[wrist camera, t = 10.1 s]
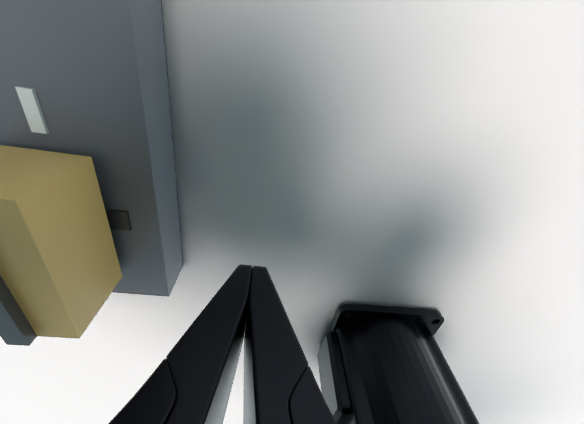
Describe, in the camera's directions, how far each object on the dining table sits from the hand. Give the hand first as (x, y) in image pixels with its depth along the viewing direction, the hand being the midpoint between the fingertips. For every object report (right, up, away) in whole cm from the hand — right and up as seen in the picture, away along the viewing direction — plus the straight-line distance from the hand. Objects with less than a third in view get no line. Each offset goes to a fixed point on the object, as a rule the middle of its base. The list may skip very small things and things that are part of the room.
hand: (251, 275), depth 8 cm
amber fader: (-7, +2, +1) cm, 7 cm away
